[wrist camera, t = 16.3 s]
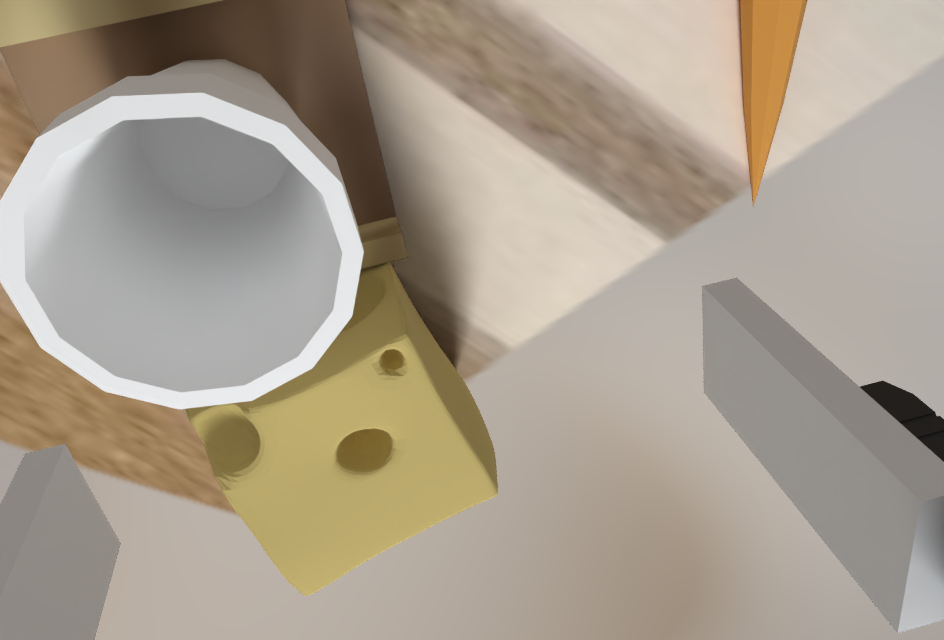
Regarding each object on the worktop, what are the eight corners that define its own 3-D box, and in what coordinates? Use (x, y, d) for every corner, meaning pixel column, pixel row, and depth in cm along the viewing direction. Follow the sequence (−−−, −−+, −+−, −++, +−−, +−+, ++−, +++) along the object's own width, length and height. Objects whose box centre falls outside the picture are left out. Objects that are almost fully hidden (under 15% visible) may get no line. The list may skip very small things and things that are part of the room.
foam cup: (377, 147, 34) (427, 272, 23) (225, 280, 35) (203, 459, 24) (209, -38, 29) (171, 8, 18) (42, 125, 31) (-89, 259, 20)
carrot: (731, -248, 32) (744, -244, 28) (849, -265, 31) (878, -263, 27) (706, 189, 44) (712, 230, 40) (791, 185, 43) (805, 227, 39)
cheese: (187, 321, 38) (162, 448, 29) (386, 223, 38) (419, 322, 29) (295, 464, 43) (300, 606, 35) (469, 379, 43) (517, 500, 34)
